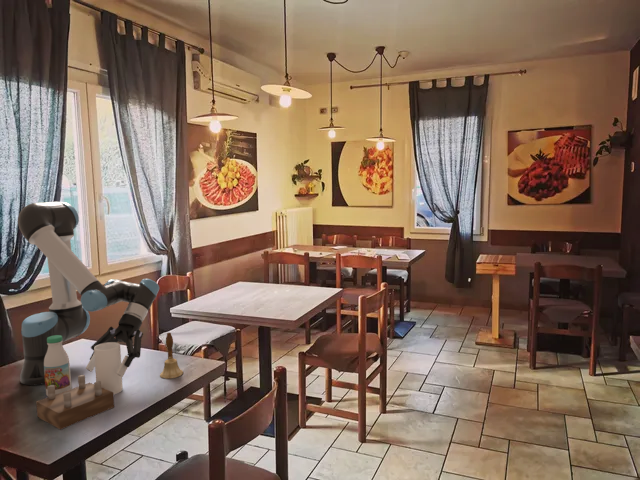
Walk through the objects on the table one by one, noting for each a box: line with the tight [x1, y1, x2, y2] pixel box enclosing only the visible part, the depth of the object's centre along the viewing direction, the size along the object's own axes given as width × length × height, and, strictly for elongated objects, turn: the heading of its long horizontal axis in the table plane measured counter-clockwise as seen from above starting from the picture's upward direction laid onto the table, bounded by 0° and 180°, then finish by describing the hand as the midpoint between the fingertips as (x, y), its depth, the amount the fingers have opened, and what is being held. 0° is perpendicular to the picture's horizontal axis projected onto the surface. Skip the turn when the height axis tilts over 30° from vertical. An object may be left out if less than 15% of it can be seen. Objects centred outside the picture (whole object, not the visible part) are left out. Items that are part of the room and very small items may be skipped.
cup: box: [93, 342, 124, 396], centre depth 166 cm, size 8×8×16 cm
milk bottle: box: [44, 335, 72, 397], centre depth 165 cm, size 8×8×20 cm
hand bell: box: [159, 332, 184, 380], centre depth 180 cm, size 8×8×16 cm
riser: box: [35, 374, 115, 431], centre depth 151 cm, size 14×17×9 cm
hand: (103, 372), depth 164 cm, fingers open, 13 cm apart
